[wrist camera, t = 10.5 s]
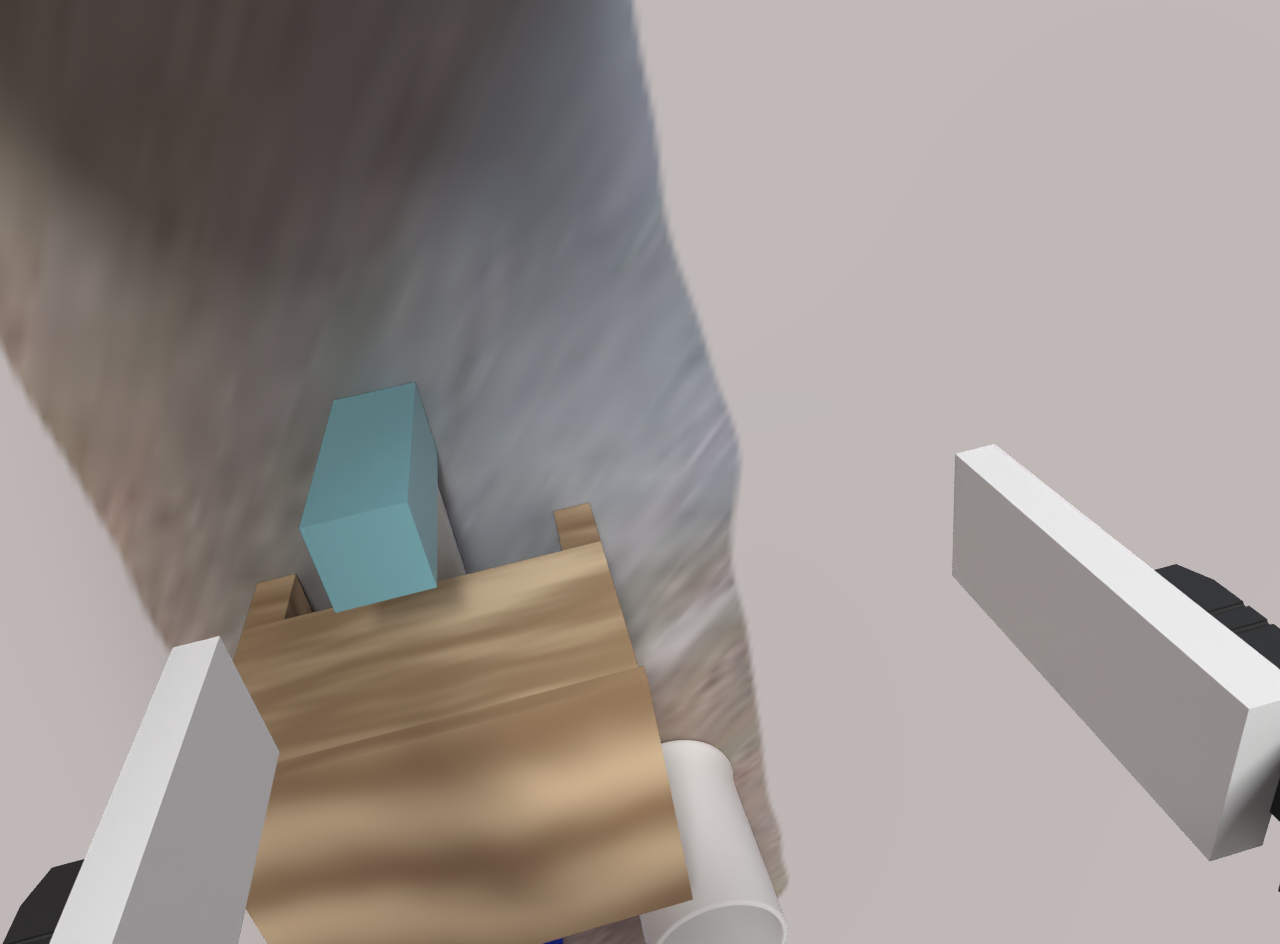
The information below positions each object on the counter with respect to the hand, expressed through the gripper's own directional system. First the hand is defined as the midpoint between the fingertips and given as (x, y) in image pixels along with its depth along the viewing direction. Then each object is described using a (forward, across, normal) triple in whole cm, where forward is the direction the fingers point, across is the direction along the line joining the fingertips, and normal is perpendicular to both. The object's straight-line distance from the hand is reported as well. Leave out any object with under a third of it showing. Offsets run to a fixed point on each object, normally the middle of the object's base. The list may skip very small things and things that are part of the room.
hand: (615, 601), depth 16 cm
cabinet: (+29, -8, -22) cm, 37 cm away
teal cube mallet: (+29, -8, -19) cm, 35 cm away
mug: (+29, +2, -40) cm, 49 cm away
